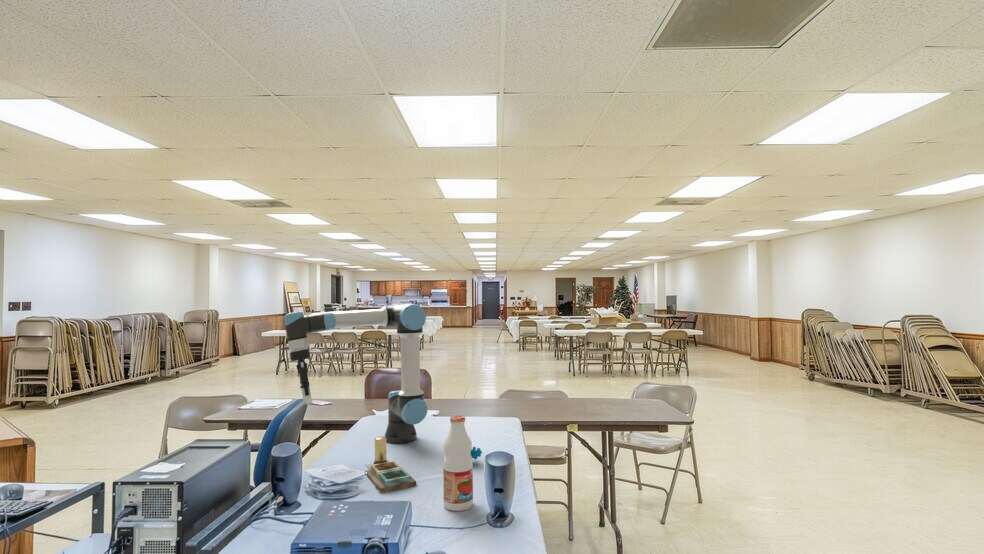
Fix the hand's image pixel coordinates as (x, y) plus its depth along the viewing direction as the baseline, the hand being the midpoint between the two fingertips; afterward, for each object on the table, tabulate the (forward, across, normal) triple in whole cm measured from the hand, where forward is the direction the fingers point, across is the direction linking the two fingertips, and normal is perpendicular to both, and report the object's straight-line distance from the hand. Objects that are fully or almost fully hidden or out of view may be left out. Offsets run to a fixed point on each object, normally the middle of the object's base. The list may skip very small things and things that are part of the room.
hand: (307, 402), depth 192 cm
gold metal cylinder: (+30, +12, +22) cm, 39 cm away
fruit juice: (+37, +59, +37) cm, 79 cm away
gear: (+37, +23, +55) cm, 70 cm away
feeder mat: (+30, +12, +22) cm, 40 cm away
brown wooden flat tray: (+32, +27, +22) cm, 47 cm away
